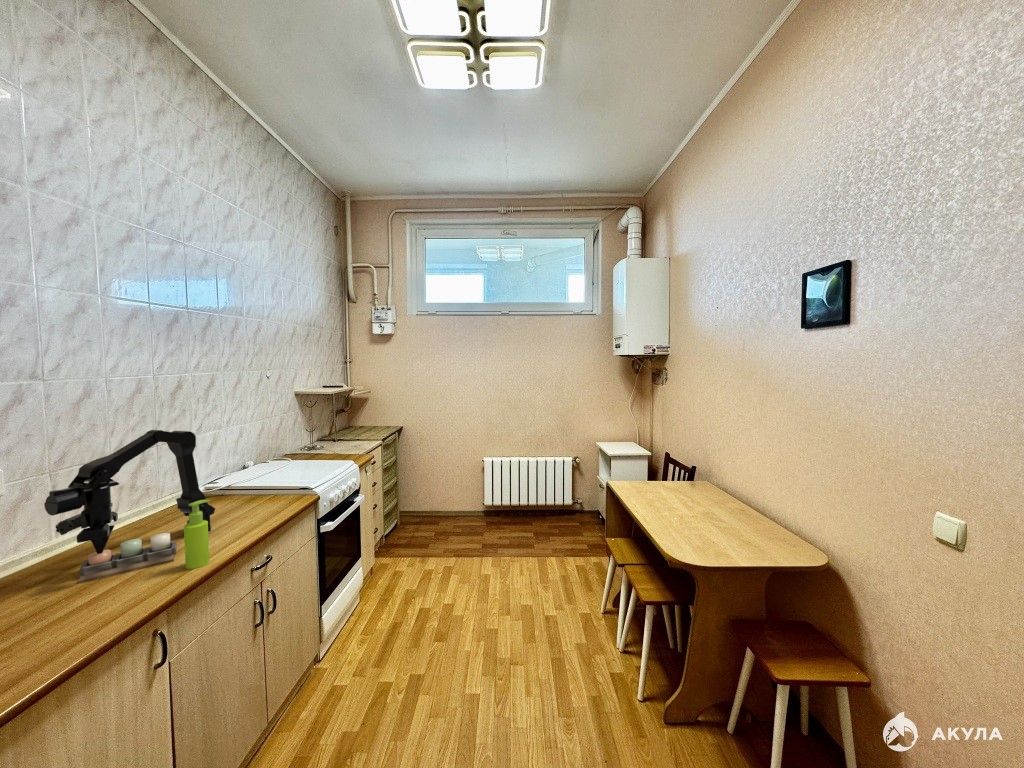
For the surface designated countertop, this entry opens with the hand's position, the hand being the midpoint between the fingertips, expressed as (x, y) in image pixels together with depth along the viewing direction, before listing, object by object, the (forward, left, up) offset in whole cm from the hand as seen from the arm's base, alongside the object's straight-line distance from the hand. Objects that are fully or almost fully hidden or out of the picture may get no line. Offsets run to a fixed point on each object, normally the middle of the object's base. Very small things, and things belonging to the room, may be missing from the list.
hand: (100, 553), depth 120 cm
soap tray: (-7, 0, -5) cm, 9 cm away
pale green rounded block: (-7, 0, -2) cm, 7 cm away
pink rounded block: (0, 0, -4) cm, 4 cm away
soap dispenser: (-24, +14, -6) cm, 28 cm away
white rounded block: (-14, 0, -2) cm, 14 cm away
